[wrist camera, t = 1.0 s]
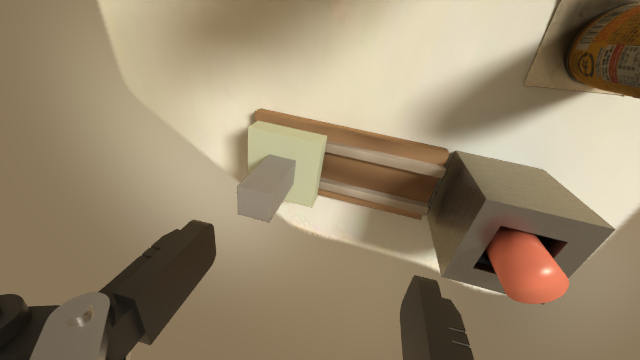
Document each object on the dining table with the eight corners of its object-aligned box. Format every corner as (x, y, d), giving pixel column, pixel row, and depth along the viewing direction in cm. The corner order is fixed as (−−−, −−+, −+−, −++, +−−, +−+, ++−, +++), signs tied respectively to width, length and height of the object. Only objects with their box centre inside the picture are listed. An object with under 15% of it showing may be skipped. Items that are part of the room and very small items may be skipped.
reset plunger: (491, 210, 23) (520, 259, 18) (538, 221, 23) (582, 275, 18) (471, 242, 25) (493, 294, 20) (514, 253, 25) (547, 309, 20)
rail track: (260, 108, 31) (251, 113, 29) (446, 148, 28) (451, 157, 26) (258, 172, 36) (250, 181, 33) (419, 212, 33) (421, 224, 31)
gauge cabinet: (455, 150, 28) (486, 199, 20) (543, 169, 27) (615, 229, 19) (427, 214, 33) (441, 276, 24) (500, 233, 32) (543, 304, 23)
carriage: (258, 120, 29) (207, 152, 21) (327, 135, 28) (303, 175, 20) (256, 181, 33) (214, 228, 25) (317, 196, 32) (293, 250, 24)
